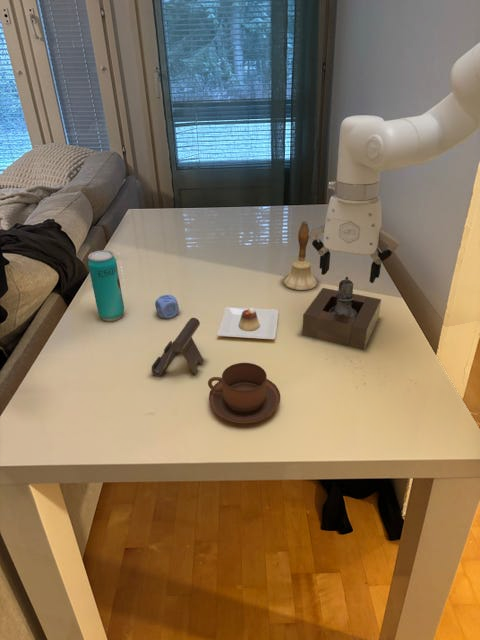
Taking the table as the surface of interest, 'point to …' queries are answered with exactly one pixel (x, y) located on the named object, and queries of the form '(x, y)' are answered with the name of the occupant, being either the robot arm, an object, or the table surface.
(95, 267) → the beverage can
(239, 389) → the cup and saucer
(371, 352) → the table surface
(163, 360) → the tablet stand
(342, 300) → the chess piece
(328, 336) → the holder
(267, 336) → the dessert
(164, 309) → the decorative dice
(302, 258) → the hand bell
